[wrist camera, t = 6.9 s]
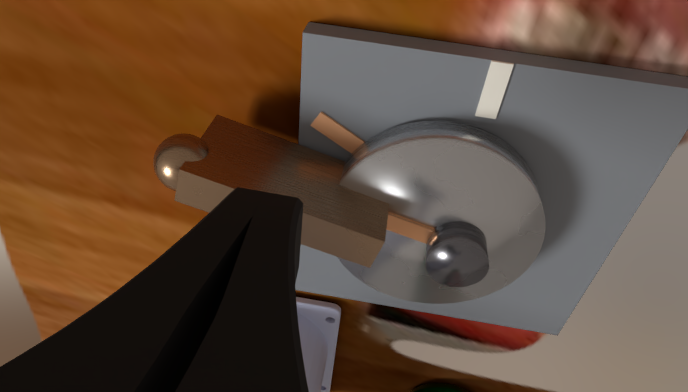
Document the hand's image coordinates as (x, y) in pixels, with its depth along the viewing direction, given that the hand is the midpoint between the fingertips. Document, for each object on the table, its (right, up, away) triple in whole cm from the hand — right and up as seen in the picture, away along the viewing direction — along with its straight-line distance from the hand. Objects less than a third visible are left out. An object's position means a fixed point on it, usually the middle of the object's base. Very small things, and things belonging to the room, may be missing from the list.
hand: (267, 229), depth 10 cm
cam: (+2, +1, +9) cm, 10 cm away
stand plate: (+6, +1, +11) cm, 12 cm away
